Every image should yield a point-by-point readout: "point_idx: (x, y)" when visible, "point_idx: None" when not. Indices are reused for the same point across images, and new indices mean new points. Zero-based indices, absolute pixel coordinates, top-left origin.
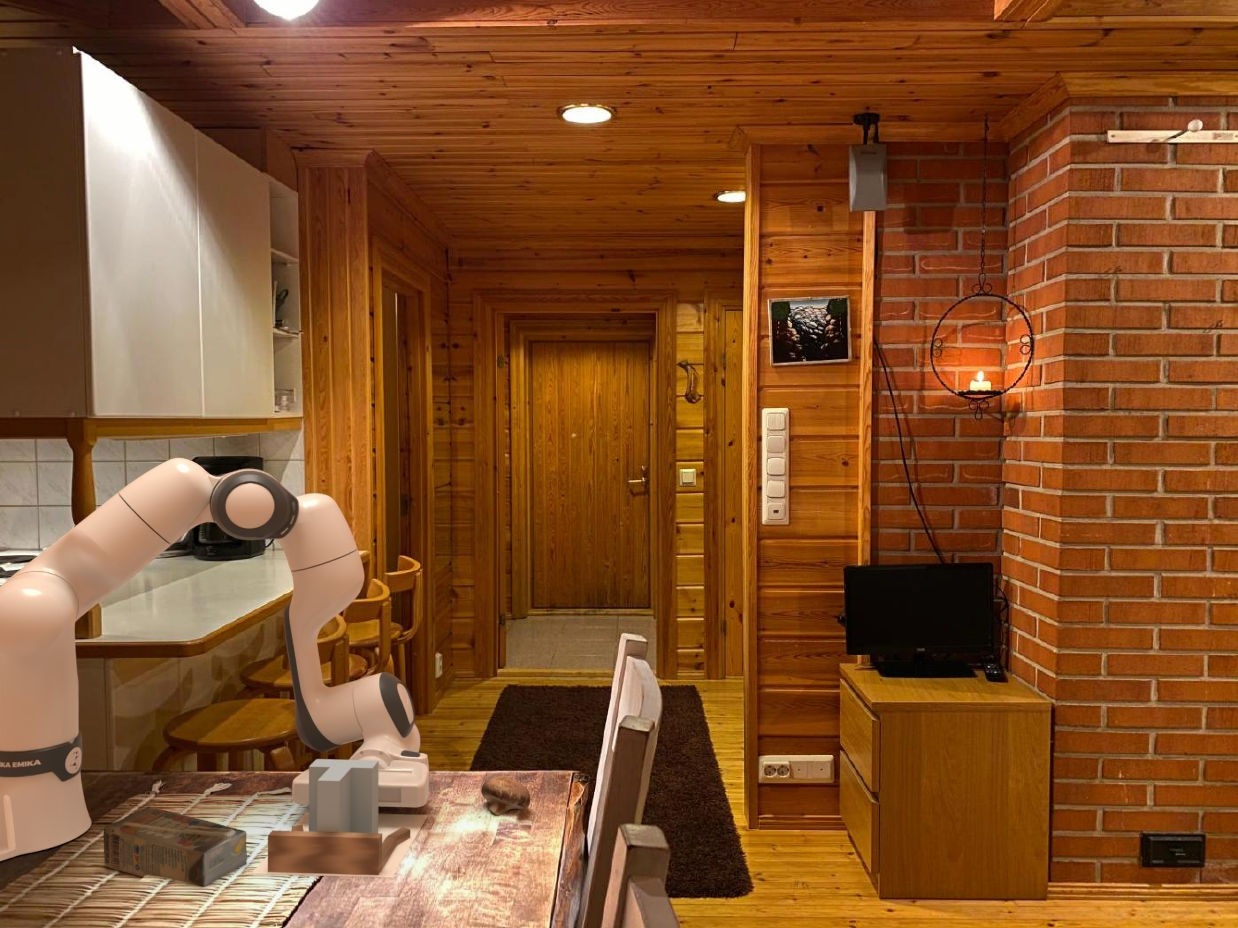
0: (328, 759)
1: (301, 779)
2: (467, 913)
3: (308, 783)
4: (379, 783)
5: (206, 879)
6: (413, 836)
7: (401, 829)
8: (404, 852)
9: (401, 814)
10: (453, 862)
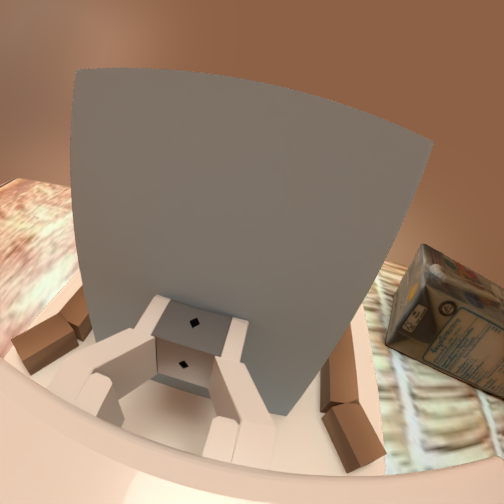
0: (364, 112)
1: (498, 476)
2: (66, 191)
3: (458, 465)
4: (2, 368)
5: (402, 278)
6: (11, 357)
7: (29, 349)
8: (61, 295)
9: None
10: (4, 270)
